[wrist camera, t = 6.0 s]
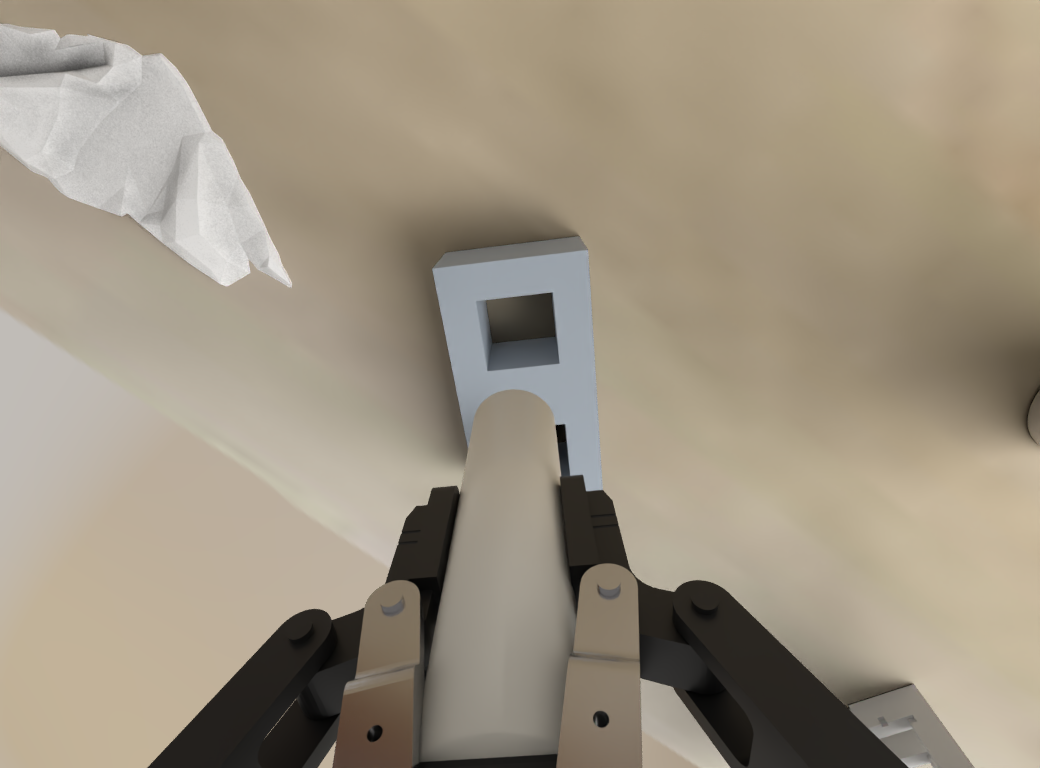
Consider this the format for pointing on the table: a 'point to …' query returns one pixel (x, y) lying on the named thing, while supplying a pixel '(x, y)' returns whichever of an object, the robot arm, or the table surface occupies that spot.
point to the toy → (910, 729)
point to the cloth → (130, 146)
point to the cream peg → (503, 595)
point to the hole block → (526, 363)
